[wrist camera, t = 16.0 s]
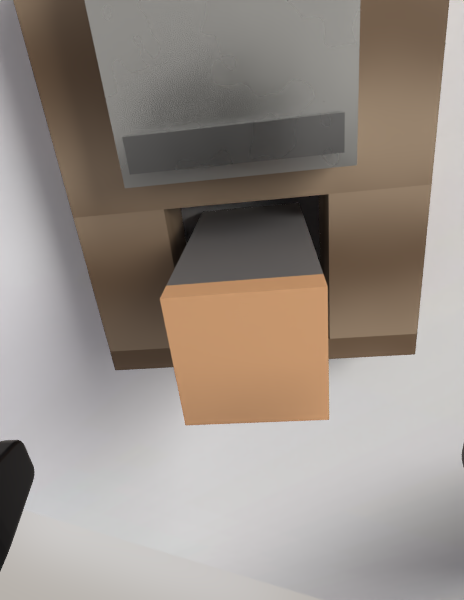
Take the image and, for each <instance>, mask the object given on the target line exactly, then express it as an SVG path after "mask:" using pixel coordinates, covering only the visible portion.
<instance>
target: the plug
mask: <svg viewBox="0 0 464 600" xmlns="http://www.w3.org/2000/svg"><path fill="white" fill-rule="evenodd" d="M160 302H161V307H162V312H163V317H164V322H165V327H166V332H167V337H168V341H169V346H170V351H171V356H172V361H173V366H174V371H175V376H176V381H177V386H178V391H179V395H180V400H181V405H182V410H183V415H184V420H185V425H205V424H230V423H255V422H281V421H306V420H329V363H328V286H327V283H326V280H325V277H324V274H323V271H322V269H321V266H320V263H319V260H318V257H317V254H316V251H315V248H314V245H313V242H312V239H311V236H310V233H309V230H308V228H307V225H306V222H305V219H304V216H303V213H302V210H301V207H300V204H299V203H288V204H277V205H267V206H256V207H245V208H234V209H224V210H213V211H203V212H202V214H201V216H200V218H199V220H198V223H197V225H196V227H195V229H194V231H193V233H192V235H191V237H190V239H189V241H188V243H187V245H186V247H185V249H184V251H183V253H182V255H181V257H180V259H179V261H178V263H177V265H176V267H175V269H174V271H173V273H172V275H171V277H170V279H169V281H168V283H167V285H166V287H165V289H164V291H163V293H162V295H161V297H160Z"/></svg>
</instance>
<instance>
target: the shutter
mask: <svg viewBox="0 0 464 600" xmlns="http://www.w3.org/2000/svg"><path fill="white" fill-rule="evenodd" d="M84 1H85V5H86V10H87V15H88V19H89V24H90V29H91V33H92V38H93V43H94V47H95V52H96V57H97V61H98V66H99V71H100V75H101V80H102V84H103V89H104V94H105V98H106V103H107V108H108V112H109V117H110V122H111V126H112V131H113V136H114V140H115V145H116V149H117V154H118V159H119V163H120V168H121V173H122V177H123V182H124V187H125V188H133V187H143V186H153V185H164V184H174V183H184V182H194V181H204V180H214V179H224V178H234V177H244V176H254V175H264V174H274V173H284V172H294V171H304V170H314V169H324V168H334V167H344V166H354V165H357V141H358V93H359V45H360V0H84Z"/></svg>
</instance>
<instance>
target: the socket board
mask: <svg viewBox="0 0 464 600" xmlns="http://www.w3.org/2000/svg"><path fill="white" fill-rule="evenodd" d="M13 1H14V5H15V8H16V12H17V16H18V19H19V23H20V26H21V30H22V34H23V37H24V41H25V45H26V48H27V52H28V55H29V59H30V63H31V66H32V70H33V73H34V77H35V81H36V84H37V88H38V92H39V95H40V99H41V102H42V106H43V110H44V113H45V117H46V121H47V124H48V128H49V131H50V135H51V139H52V142H53V146H54V150H55V153H56V157H57V160H58V164H59V168H60V171H61V175H62V178H63V182H64V186H65V189H66V193H67V197H68V200H69V204H70V207H71V211H72V215H73V218H74V222H75V226H76V229H77V233H78V236H79V240H80V244H81V247H82V251H83V255H84V258H85V262H86V265H87V269H88V273H89V276H90V280H91V284H92V287H93V291H94V294H95V298H96V302H97V305H98V309H99V312H100V316H101V320H102V323H103V327H104V331H105V334H106V338H107V341H108V345H109V349H110V352H111V356H112V360H113V363H114V367H115V370H129V369H147V368H166V367H174V366H173V361H172V356H171V351H170V346H169V341H168V337H167V332H166V327H165V322H164V317H163V312H162V307H161V302H160V297H161V295H162V293H163V291H164V289H165V287H166V285H167V283H168V281H169V279H170V277H171V275H172V273H173V271H174V269H175V267H176V265H177V263H178V261H179V259H180V257H181V255H182V253H183V251H184V249H185V247H186V245H187V244H186V238H185V232H184V226H183V219H182V213H181V208H185V207H196V206H206V205H217V204H228V203H239V202H249V201H260V200H271V199H282V198H292V197H303V196H314V195H319V239H320V266H321V269H322V271H323V274H324V277H325V280H326V283H327V286H328V359H336V358H355V357H373V356H392V355H411V354H415V349H416V339H417V328H418V318H419V308H420V297H421V287H422V277H423V266H424V256H425V246H426V235H427V225H428V215H429V204H430V194H431V184H432V173H433V163H434V153H435V142H436V132H437V122H438V111H439V101H440V91H441V80H442V70H443V60H444V50H445V39H446V29H447V19H448V8H449V0H360V45H359V93H358V141H357V165H354V166H344V167H334V168H324V169H314V170H304V171H294V172H284V173H274V174H264V175H254V176H244V177H234V178H224V179H214V180H204V181H194V182H184V183H174V184H164V185H153V186H143V187H133V188H125V187H124V182H123V177H122V173H121V168H120V163H119V159H118V154H117V149H116V145H115V140H114V136H113V131H112V126H111V122H110V117H109V112H108V108H107V103H106V98H105V94H104V89H103V84H102V80H101V75H100V71H99V66H98V61H97V57H96V52H95V47H94V43H93V38H92V33H91V29H90V24H89V19H88V15H87V10H86V5H85V1H84V0H13Z"/></svg>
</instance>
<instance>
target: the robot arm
mask: <svg viewBox="0 0 464 600" xmlns="http://www.w3.org/2000/svg"><path fill="white" fill-rule="evenodd" d="M462 463H463V467H464V444H463V450H462ZM33 479H34V466H33V464H32V462H31V459H30V457H29V455H28V452H27V450H26V448H25V445H24V444H23V443H22V442H21V441H19V440H4V441H0V571H1V568H2V566H3V564H4V561H5V559H6V557H7V554H8V552H9V549H10V546H11V544H12V541H13V538H14V535H15V532H16V529H17V526H18V523H19V521H20V518H21V515H22V512H23V509H24V506H25V503H26V500H27V497H28V494H29V491H30V488H31V485H32V482H33Z"/></svg>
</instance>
